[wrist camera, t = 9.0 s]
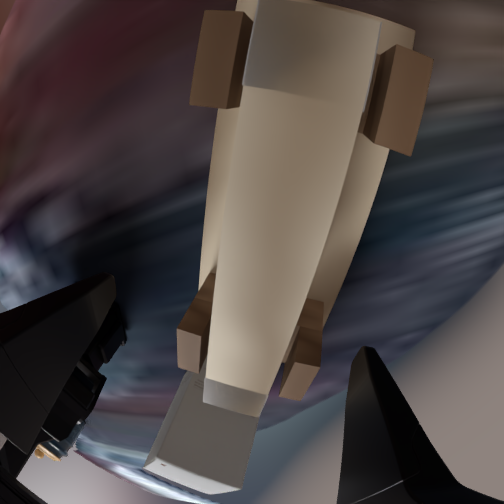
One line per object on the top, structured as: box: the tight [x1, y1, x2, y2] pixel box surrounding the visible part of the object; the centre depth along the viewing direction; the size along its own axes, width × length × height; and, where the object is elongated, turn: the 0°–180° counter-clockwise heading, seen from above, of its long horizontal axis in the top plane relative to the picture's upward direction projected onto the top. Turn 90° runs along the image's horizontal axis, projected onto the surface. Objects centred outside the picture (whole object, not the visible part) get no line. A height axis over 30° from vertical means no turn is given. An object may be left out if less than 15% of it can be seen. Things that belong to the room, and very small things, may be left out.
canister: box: [35, 421, 85, 461], centre depth 50 cm, size 13×13×18 cm
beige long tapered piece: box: [177, 0, 434, 401], centre depth 16 cm, size 10×26×7 cm, turn 170°
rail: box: [203, 0, 382, 418], centre depth 13 cm, size 4×20×5 cm, turn 170°
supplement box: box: [144, 354, 259, 494], centre depth 24 cm, size 7×7×13 cm
